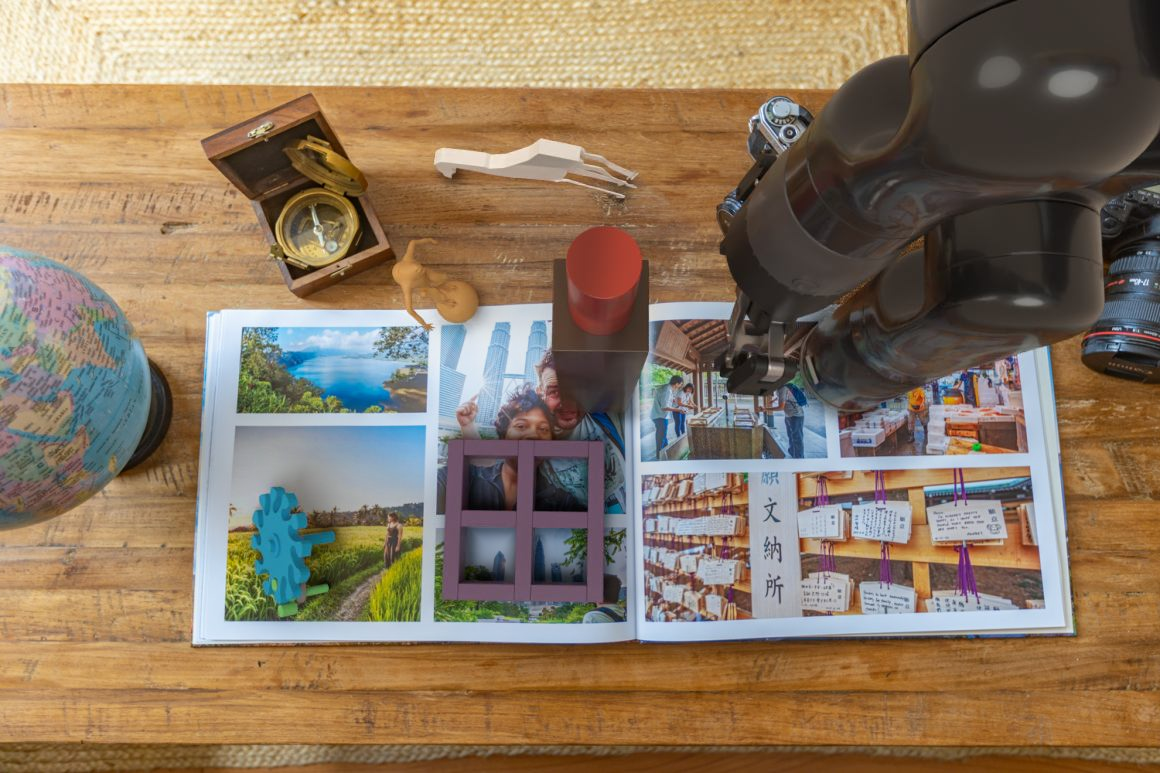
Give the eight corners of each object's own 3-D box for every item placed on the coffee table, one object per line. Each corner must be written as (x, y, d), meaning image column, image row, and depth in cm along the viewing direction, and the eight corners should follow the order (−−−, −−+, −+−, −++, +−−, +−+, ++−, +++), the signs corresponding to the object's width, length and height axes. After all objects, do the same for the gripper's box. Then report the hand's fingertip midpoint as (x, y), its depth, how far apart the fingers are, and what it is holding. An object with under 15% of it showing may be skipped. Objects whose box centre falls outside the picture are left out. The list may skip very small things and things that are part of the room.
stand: (626, 350, 75) (649, 259, 49) (626, 413, 74) (649, 352, 48) (563, 349, 75) (553, 257, 49) (562, 412, 74) (551, 351, 48)
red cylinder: (633, 274, 49) (642, 225, 41) (632, 336, 48) (642, 299, 41) (569, 273, 49) (566, 225, 41) (567, 335, 48) (565, 298, 41)
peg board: (603, 445, 73) (604, 441, 69) (602, 598, 71) (603, 602, 67) (455, 443, 73) (448, 438, 70) (449, 596, 71) (441, 600, 67)
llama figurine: (598, 204, 84) (432, 156, 78) (646, 165, 74) (459, 106, 67) (595, 221, 84) (429, 174, 77) (644, 183, 73) (456, 125, 67)
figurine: (479, 350, 75) (460, 317, 63) (416, 349, 75) (385, 316, 63) (482, 266, 76) (464, 219, 65) (420, 266, 76) (390, 218, 65)
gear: (242, 486, 71) (292, 489, 64) (304, 480, 75) (358, 482, 68) (246, 610, 71) (297, 626, 64) (309, 596, 75) (363, 611, 68)
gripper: (888, 366, 39) (777, 411, 55) (891, 104, 42) (784, 220, 58) (741, 351, 39) (672, 401, 55) (753, 86, 41) (684, 208, 57)
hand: (730, 308), depth 56 cm, fingers open, 8 cm apart
